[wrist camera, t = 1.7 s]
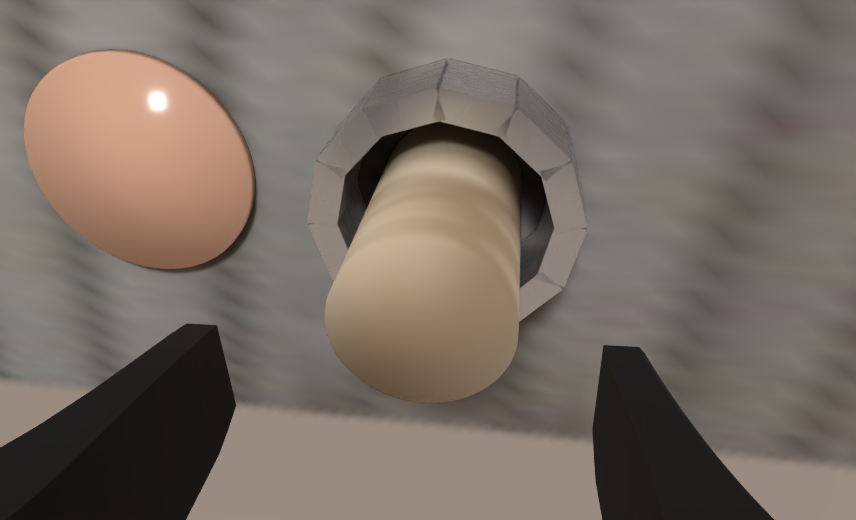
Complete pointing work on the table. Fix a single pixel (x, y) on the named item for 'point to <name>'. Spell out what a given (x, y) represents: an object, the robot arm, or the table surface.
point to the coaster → (139, 158)
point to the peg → (433, 269)
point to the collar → (474, 109)
